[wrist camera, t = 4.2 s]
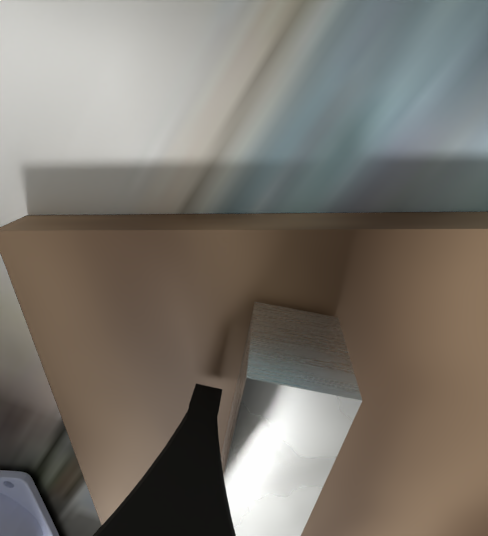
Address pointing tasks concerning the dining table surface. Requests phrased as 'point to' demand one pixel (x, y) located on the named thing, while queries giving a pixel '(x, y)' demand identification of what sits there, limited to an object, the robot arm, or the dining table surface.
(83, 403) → the brown wooden board
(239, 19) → the dining table surface
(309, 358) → the bar
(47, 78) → the dining table surface
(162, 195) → the dining table surface
